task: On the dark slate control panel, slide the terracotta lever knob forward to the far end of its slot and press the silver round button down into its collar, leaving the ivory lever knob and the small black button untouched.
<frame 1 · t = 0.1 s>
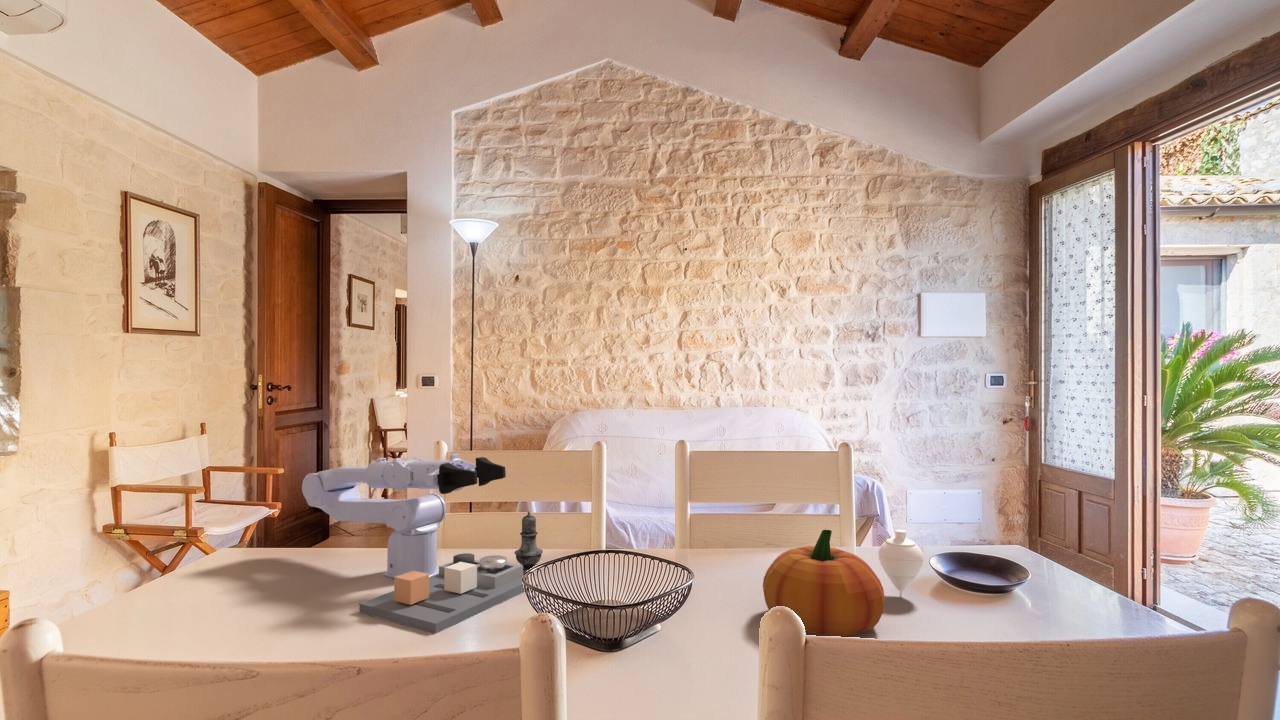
hand: (490, 475, 119), 22 cm above the table, tool horizontal, fingers open, 7 cm apart
button silver: (493, 563, 121), point 4 cm above the table, slide at 0.0 cm
panel: (454, 597, 114), on the table
button black: (463, 559, 124), point 4 cm above the table, slide at 0.0 cm
spinning top: (900, 597, 116), on the table
lever middle: (460, 577, 114), point 4 cm above the table, slide at 3.5 cm
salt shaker: (528, 569, 132), on the table
lever near: (411, 587, 108), point 4 cm above the table, slide at 0.0 cm
pumpkin: (822, 623, 104), on the table
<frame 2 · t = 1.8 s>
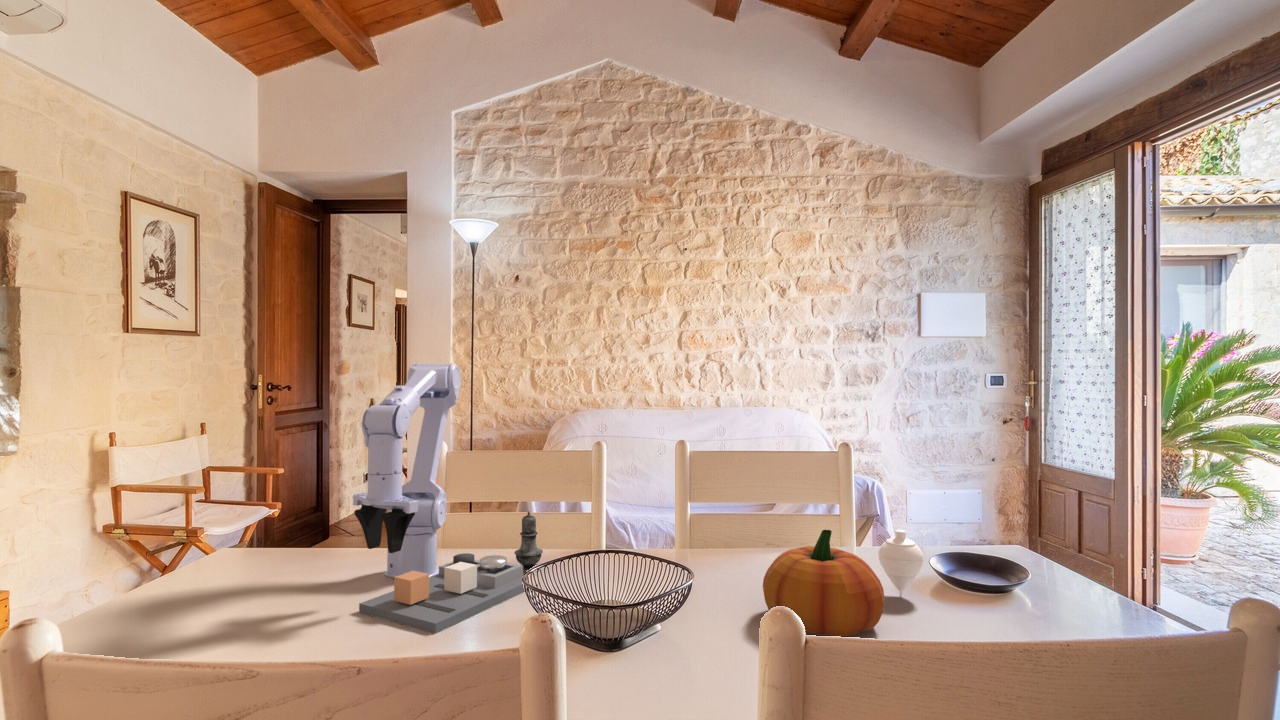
hand: (384, 549, 112), 9 cm above the table, tool pointing down, fingers open, 5 cm apart
nothing on the table moved.
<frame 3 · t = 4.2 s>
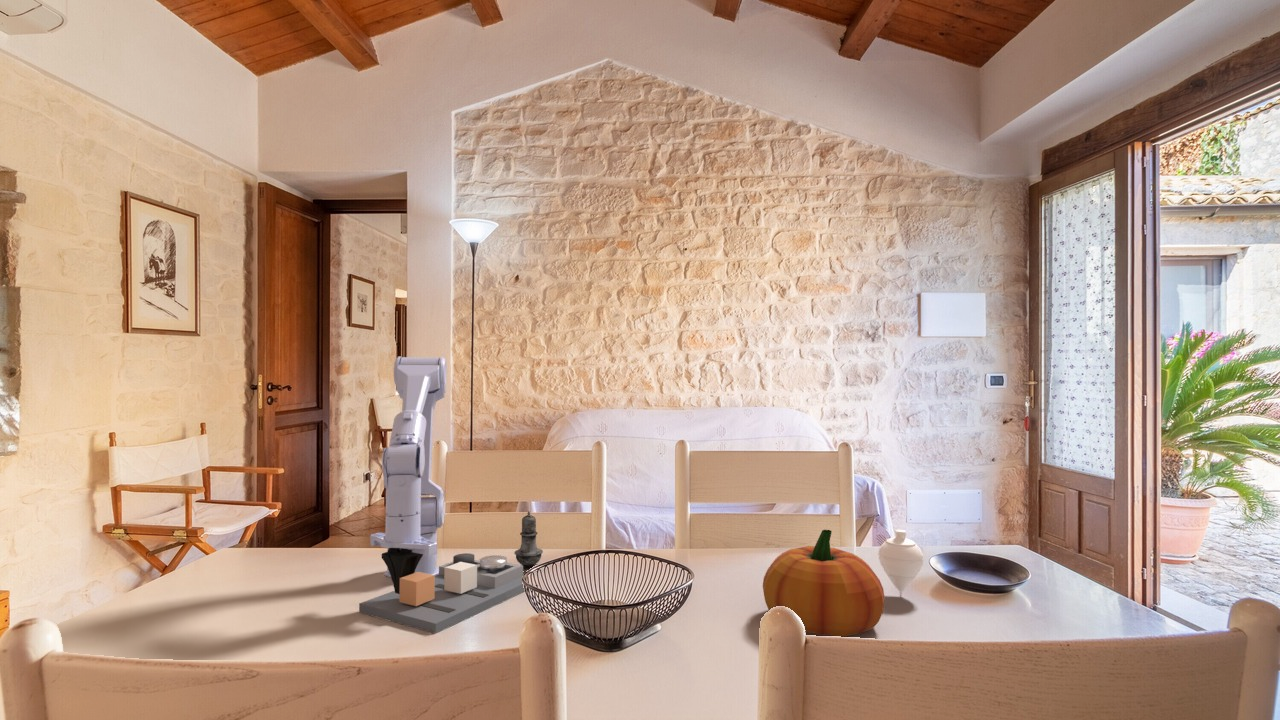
hand: (402, 592, 109), 3 cm above the table, tool pointing down, fingers closed
lever near: (417, 588, 108), point 4 cm above the table, slide at 1.3 cm, touching gripper
everything else where it was.
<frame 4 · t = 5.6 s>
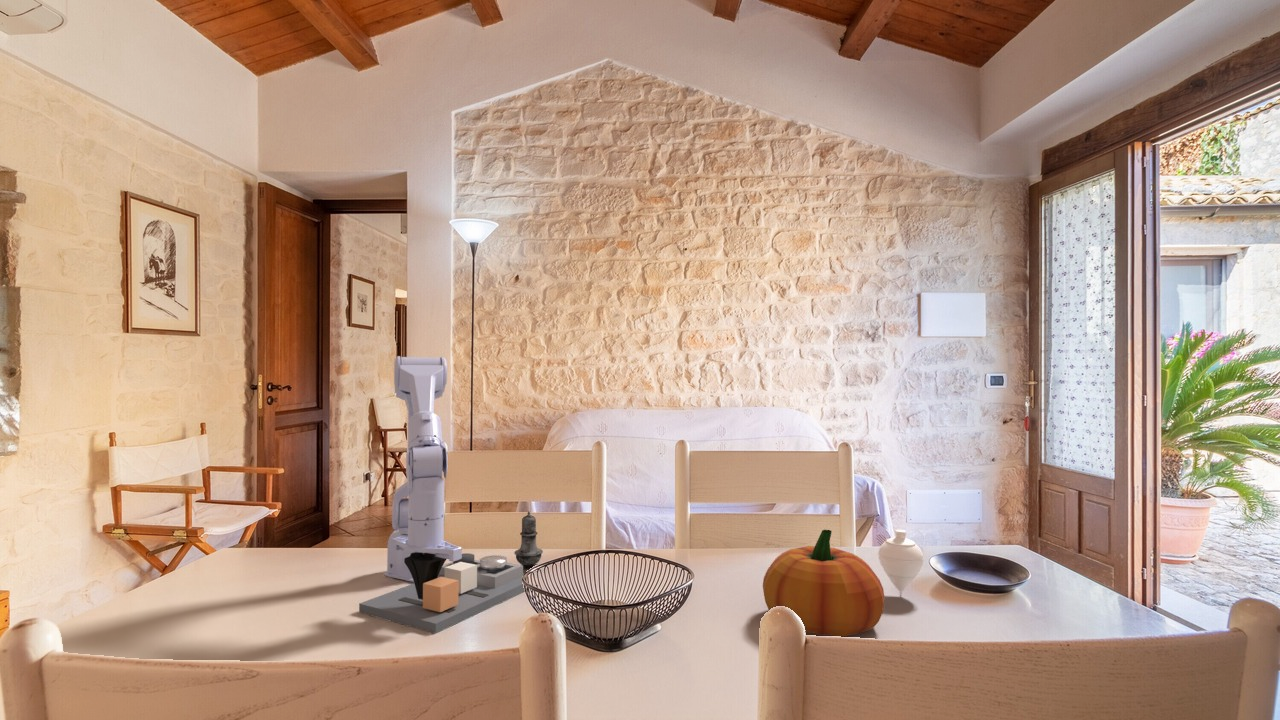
hand: (425, 597, 107), 3 cm above the table, tool pointing down, fingers closed
lever near: (440, 594, 105), point 4 cm above the table, slide at 6.8 cm, touching gripper
everything else where it was.
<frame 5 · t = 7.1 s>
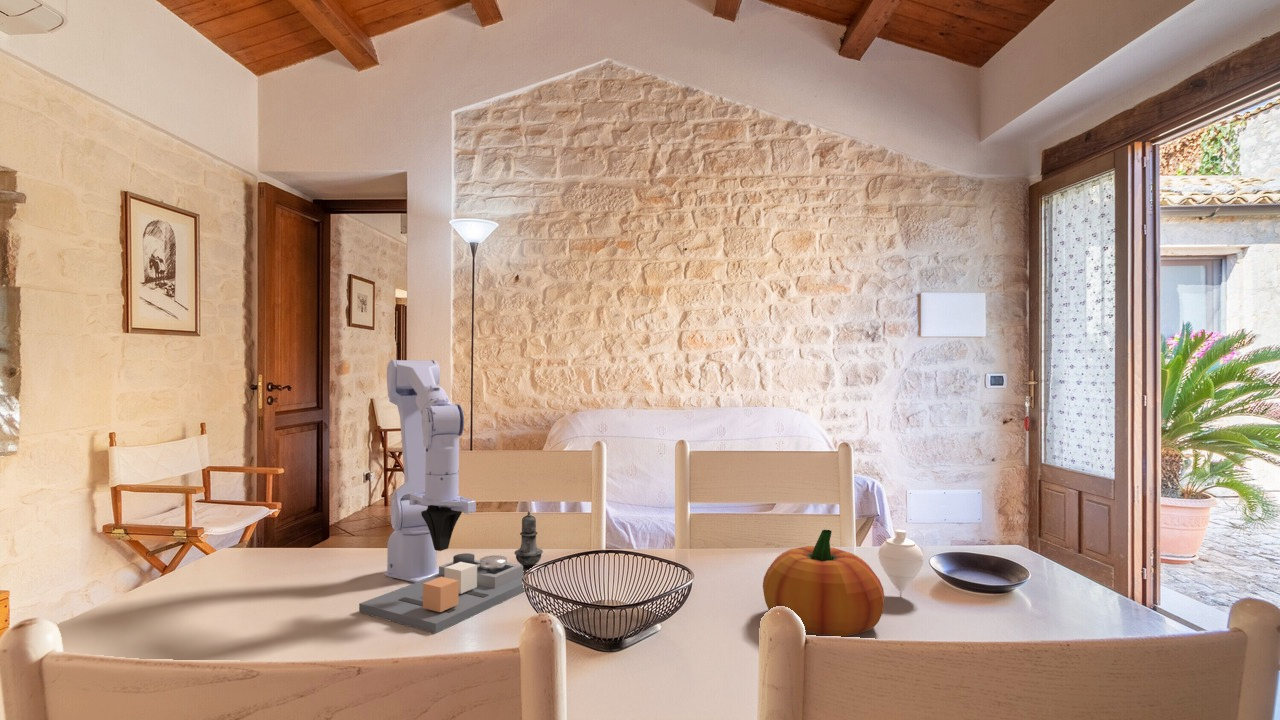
hand: (441, 549, 112), 9 cm above the table, tool pointing down, fingers closed
lever near: (440, 594, 105), point 4 cm above the table, slide at 6.8 cm
everything else where it was.
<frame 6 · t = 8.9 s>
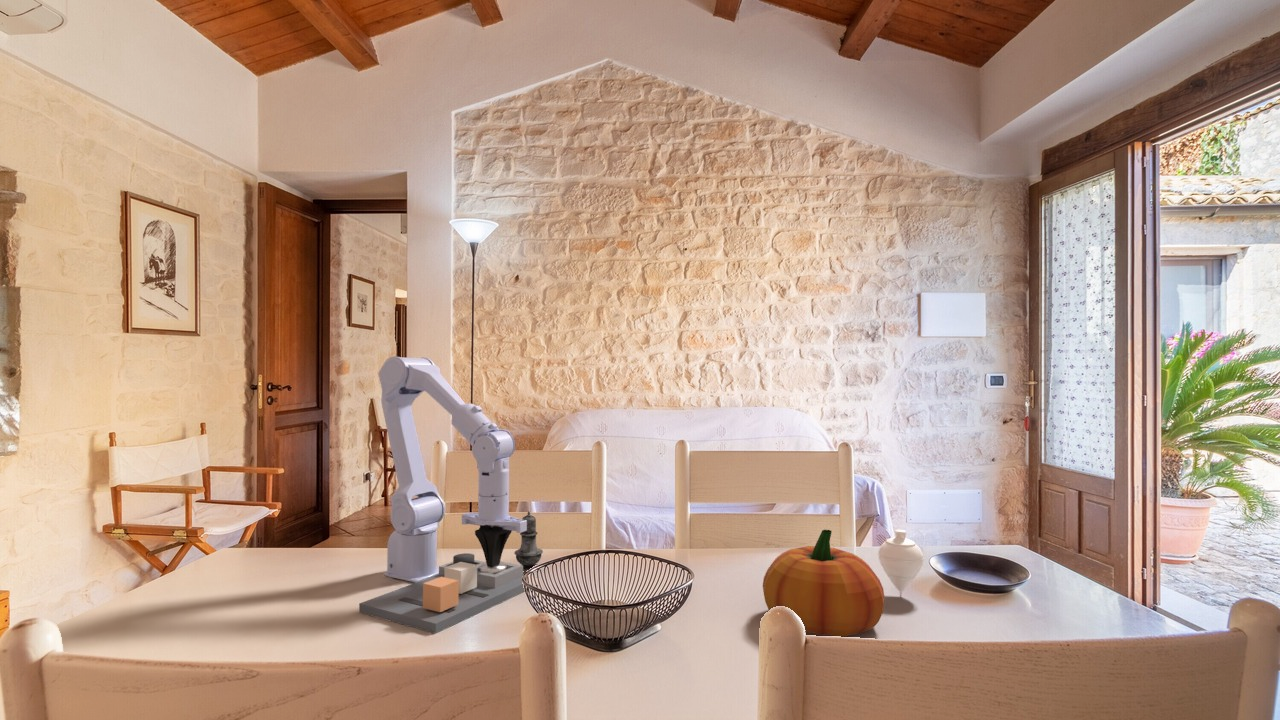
hand: (493, 565, 121), 4 cm above the table, tool pointing down, fingers closed, pressing on button silver
button silver: (493, 569, 121), point 3 cm above the table, slide at 1.2 cm, touching gripper
everything else where it was.
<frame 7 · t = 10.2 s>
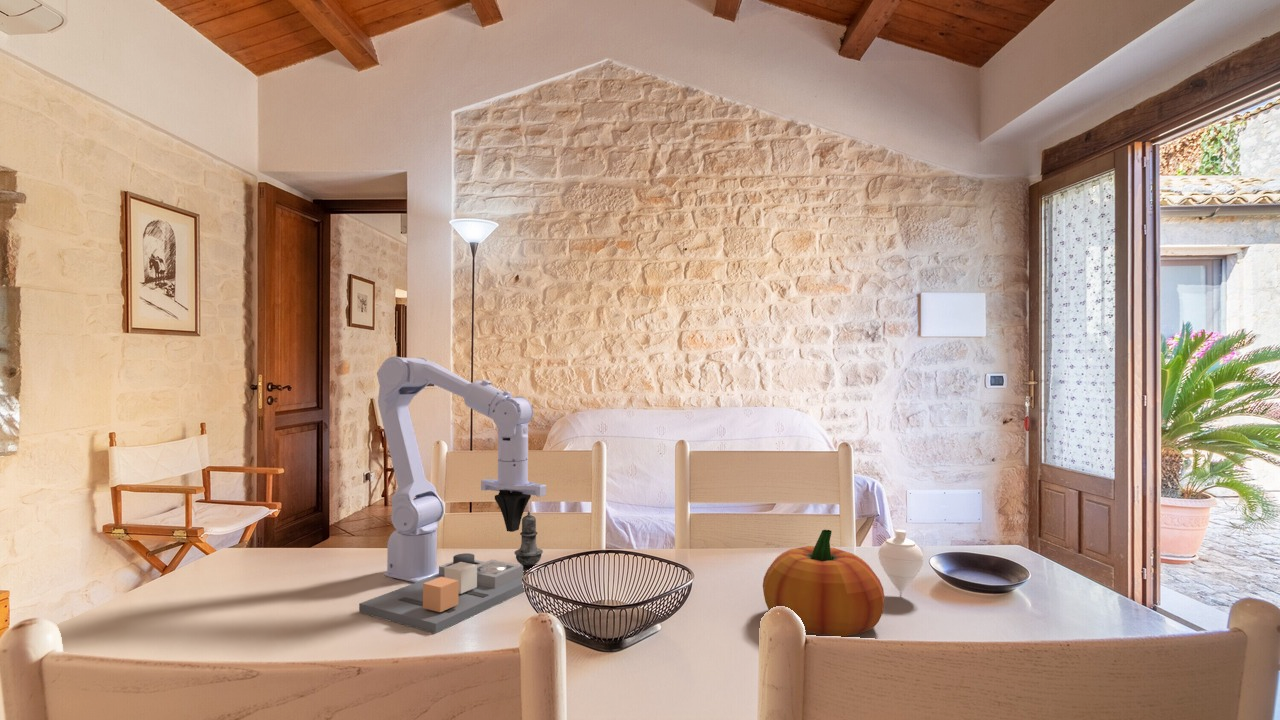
hand: (512, 530, 122), 10 cm above the table, tool pointing down, fingers closed
button silver: (493, 570, 121), point 3 cm above the table, slide at 1.4 cm
everything else where it was.
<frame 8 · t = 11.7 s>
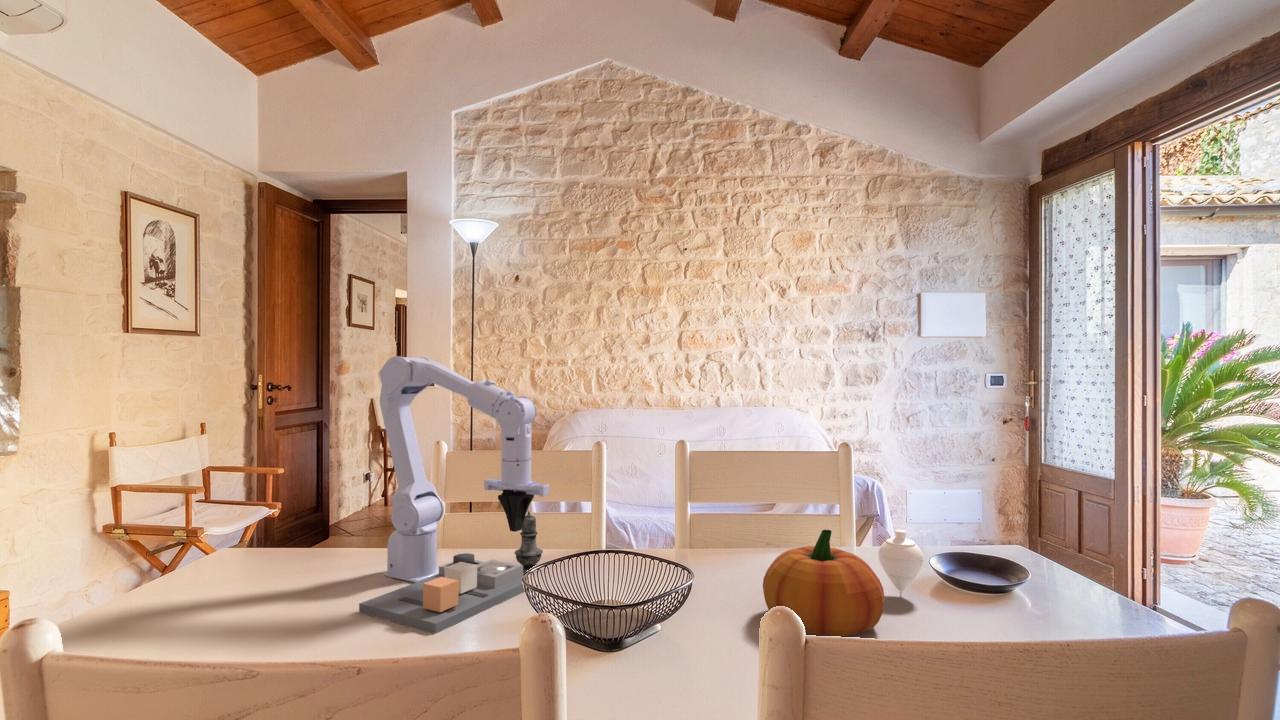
hand: (515, 530, 122), 10 cm above the table, tool pointing down, fingers closed
nothing on the table moved.
at the end: lever near slide at 6.8 cm; button silver slide at 1.4 cm; lever middle slide at 3.5 cm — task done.
